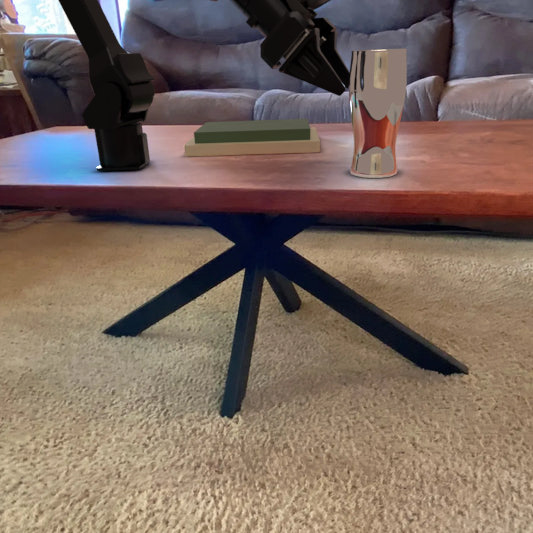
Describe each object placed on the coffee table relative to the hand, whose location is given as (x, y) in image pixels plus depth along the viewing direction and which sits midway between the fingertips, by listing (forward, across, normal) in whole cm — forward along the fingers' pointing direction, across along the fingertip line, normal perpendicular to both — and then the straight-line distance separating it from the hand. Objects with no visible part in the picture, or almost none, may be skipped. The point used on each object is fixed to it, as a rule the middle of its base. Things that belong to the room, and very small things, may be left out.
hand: (348, 89), depth 64 cm
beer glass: (+10, 0, +5) cm, 11 cm away
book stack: (-6, +19, +21) cm, 29 cm away
